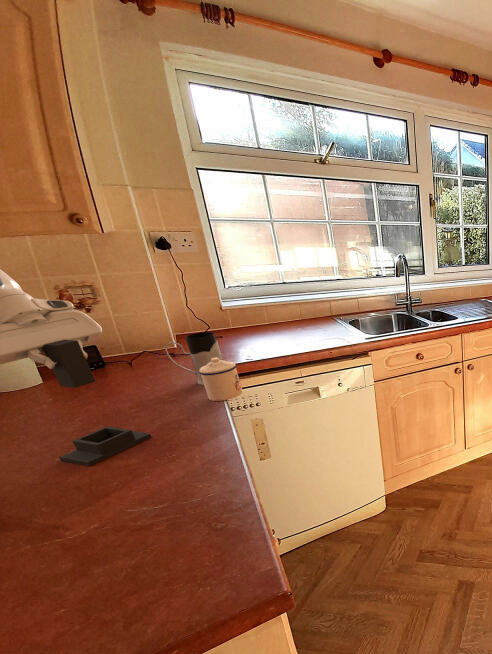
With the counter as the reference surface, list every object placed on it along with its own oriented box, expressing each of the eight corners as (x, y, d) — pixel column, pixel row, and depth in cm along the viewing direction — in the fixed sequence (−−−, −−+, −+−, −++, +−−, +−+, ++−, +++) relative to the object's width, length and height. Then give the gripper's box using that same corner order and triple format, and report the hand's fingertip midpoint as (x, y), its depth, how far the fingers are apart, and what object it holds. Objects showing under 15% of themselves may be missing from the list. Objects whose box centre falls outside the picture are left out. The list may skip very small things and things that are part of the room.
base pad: (89, 466, 91) (82, 452, 89) (60, 460, 93) (53, 447, 92) (151, 437, 102) (146, 424, 101) (124, 432, 105) (119, 420, 103)
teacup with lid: (246, 395, 125) (235, 358, 120) (210, 404, 119) (197, 366, 115) (239, 384, 133) (228, 349, 129) (204, 392, 128) (192, 355, 123)
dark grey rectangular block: (75, 388, 95) (56, 345, 91) (60, 386, 97) (40, 344, 93) (95, 381, 99) (77, 340, 95) (80, 379, 100) (62, 339, 96)
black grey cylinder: (227, 381, 136) (213, 336, 130) (173, 389, 130) (157, 343, 125) (231, 373, 143) (218, 330, 137) (181, 380, 138) (165, 335, 132)
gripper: (-45, 319, 84) (11, 369, 85) (77, 299, 102) (122, 340, 103) (-47, 340, 86) (7, 387, 88) (72, 316, 105) (115, 356, 106)
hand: (70, 362), depth 95 cm, fingers closed on dark grey rectangular block, 4 cm apart
